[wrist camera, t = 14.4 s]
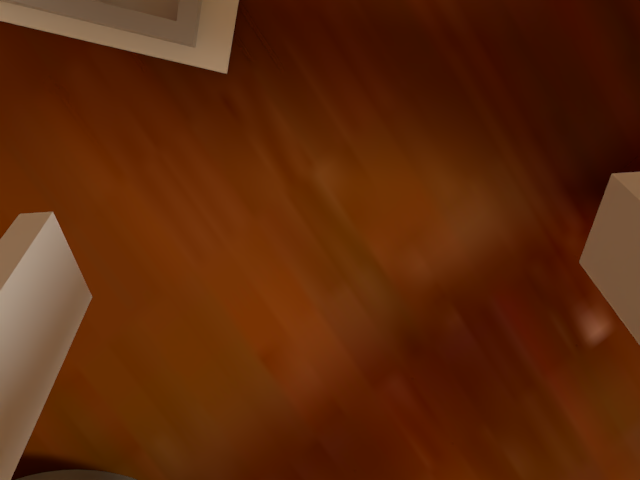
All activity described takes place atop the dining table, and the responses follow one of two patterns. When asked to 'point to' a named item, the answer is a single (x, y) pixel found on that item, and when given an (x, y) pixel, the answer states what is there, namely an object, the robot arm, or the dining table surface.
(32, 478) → the cake pan
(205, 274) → the dining table surface
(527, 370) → the dining table surface
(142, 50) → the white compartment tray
